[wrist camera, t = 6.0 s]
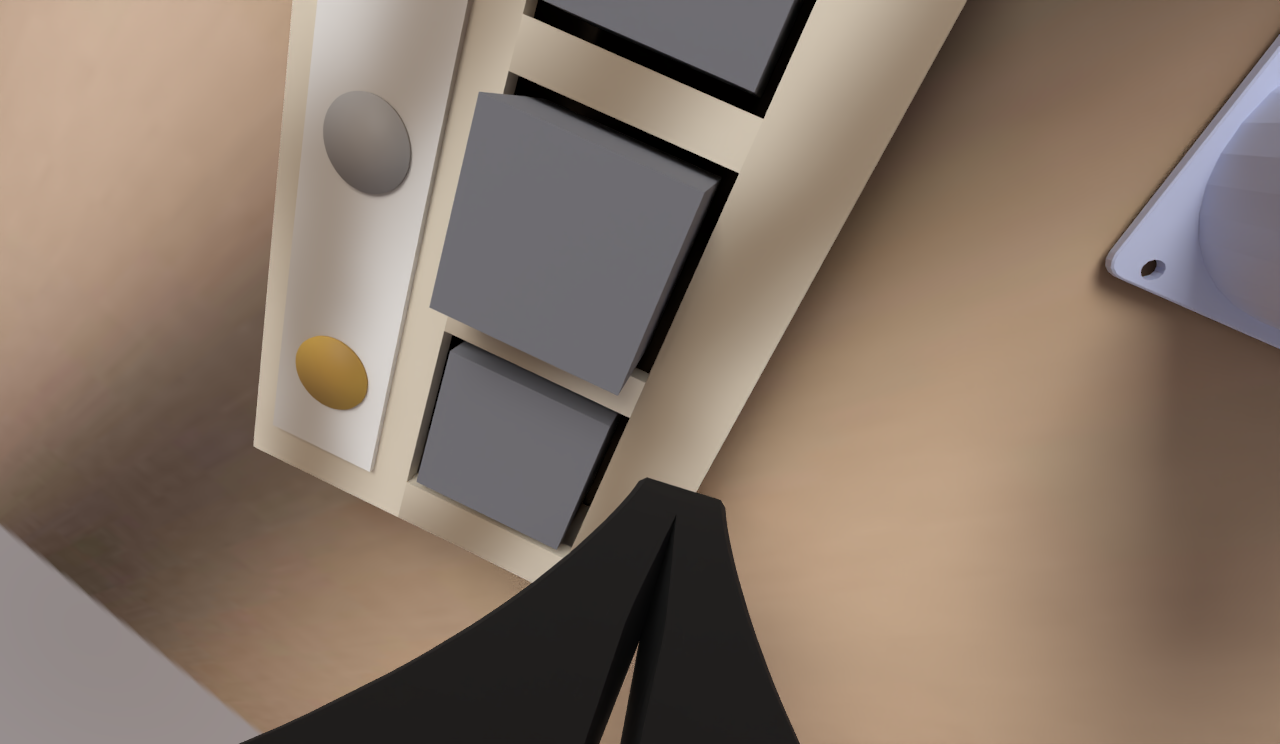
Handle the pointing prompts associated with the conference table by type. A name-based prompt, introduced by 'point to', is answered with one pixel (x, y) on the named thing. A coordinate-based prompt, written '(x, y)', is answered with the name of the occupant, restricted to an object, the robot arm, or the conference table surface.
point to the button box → (422, 203)
